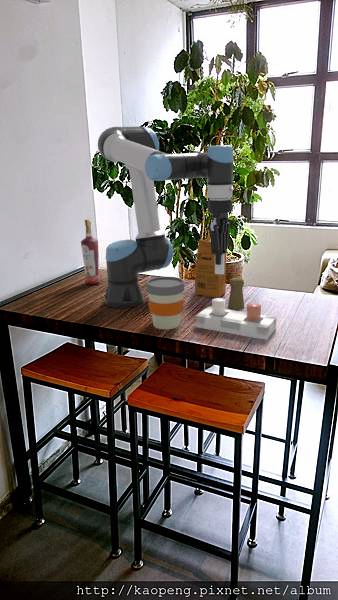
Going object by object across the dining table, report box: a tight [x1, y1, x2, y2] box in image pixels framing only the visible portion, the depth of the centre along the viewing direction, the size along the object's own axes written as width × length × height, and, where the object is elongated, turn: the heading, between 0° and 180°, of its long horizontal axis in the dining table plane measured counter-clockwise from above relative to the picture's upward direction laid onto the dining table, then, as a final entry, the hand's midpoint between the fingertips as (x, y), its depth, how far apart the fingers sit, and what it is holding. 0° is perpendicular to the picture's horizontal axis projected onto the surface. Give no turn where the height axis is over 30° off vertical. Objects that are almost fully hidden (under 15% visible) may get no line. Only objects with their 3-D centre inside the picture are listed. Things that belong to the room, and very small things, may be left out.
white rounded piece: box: [211, 297, 227, 315], centre depth 149 cm, size 4×4×4 cm
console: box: [195, 305, 277, 340], centre depth 148 cm, size 24×10×4 cm, turn 61°
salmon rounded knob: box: [246, 302, 262, 321], centre depth 143 cm, size 4×4×4 cm
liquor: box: [80, 218, 101, 286], centre depth 196 cm, size 7×7×28 cm
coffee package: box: [194, 238, 227, 298], centre depth 179 cm, size 10×12×22 cm
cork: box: [227, 277, 245, 311], centre depth 165 cm, size 6×6×11 cm
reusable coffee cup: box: [146, 276, 186, 330], centre depth 150 cm, size 13×13×15 cm
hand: (219, 273), depth 145 cm, fingers closed
